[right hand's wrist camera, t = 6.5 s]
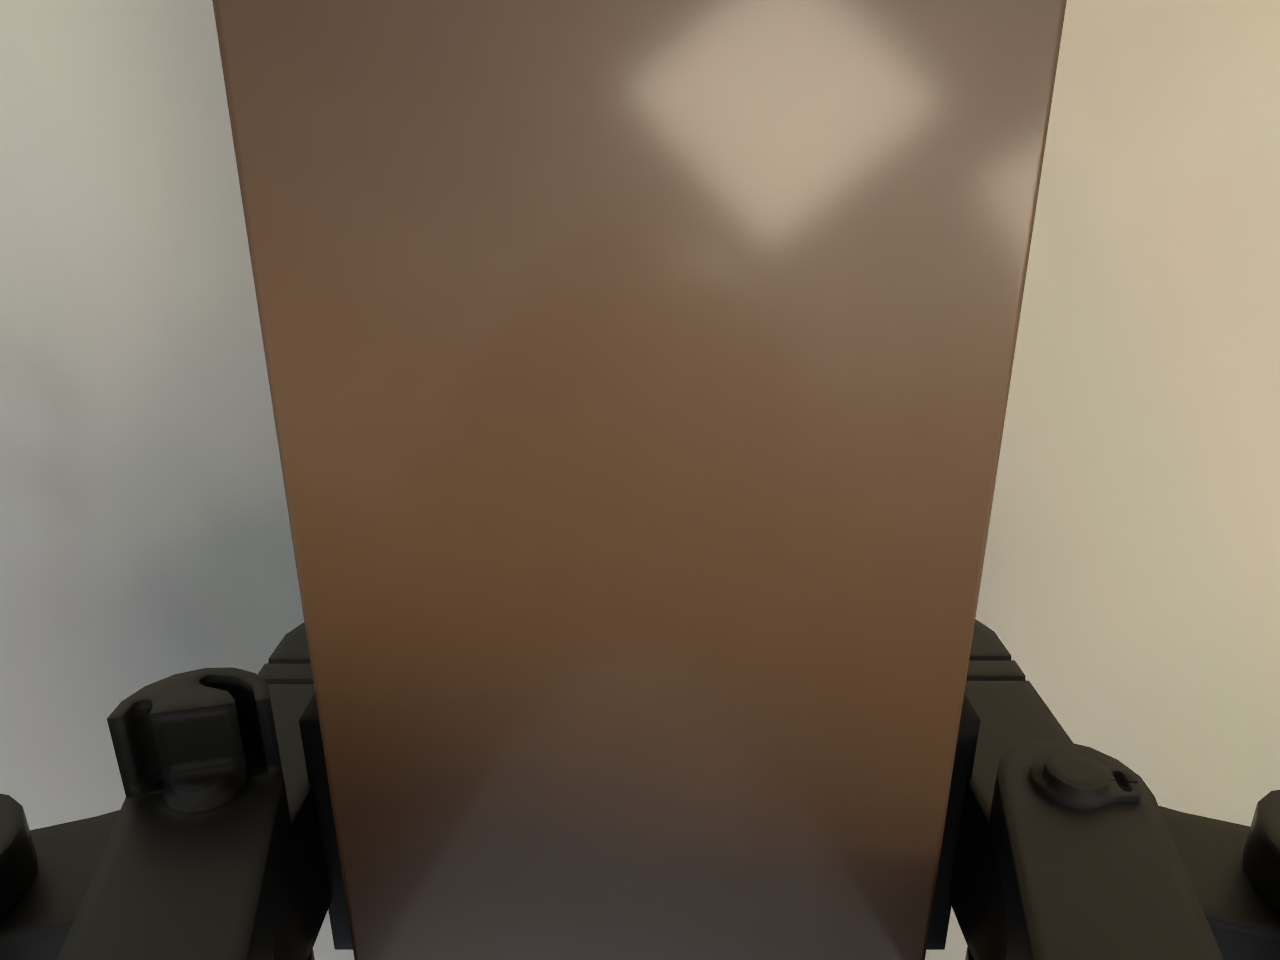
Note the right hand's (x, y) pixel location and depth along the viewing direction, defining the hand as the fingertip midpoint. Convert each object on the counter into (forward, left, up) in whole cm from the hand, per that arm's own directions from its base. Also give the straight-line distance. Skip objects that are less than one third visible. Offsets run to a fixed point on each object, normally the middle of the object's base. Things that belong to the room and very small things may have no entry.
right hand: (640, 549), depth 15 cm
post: (+7, -23, -1) cm, 24 cm away
